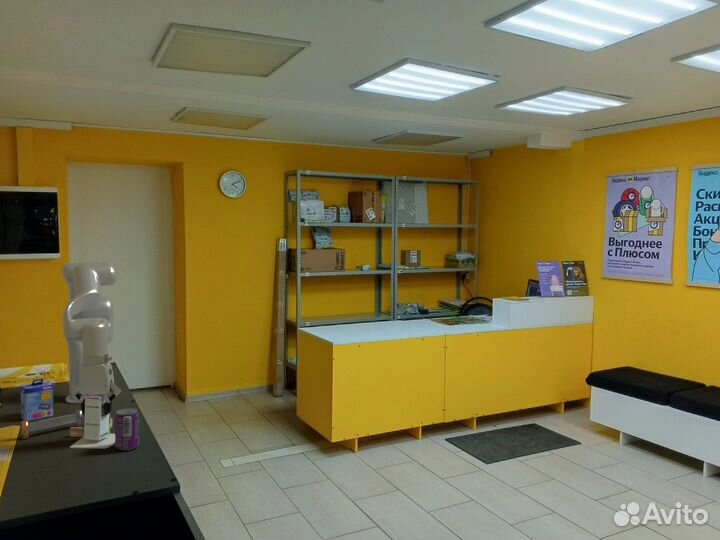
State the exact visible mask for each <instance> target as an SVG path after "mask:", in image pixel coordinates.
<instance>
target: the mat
mask: <svg viewBox="0 0 720 540" xmlns="http://www.w3.org/2000/svg"><path fill="white" fill-rule="evenodd" d="M113 444H115V433H110V436H107V437H105V438H103V439H101V440H89V439H84V437H80V439H79V440H77V441H76V442H74V443H72V445H70V446H69V448H70V449H104V450H105V449H106V448H108V449H109V448H110V447H111V446H112V445H113ZM106 450H107V449H106Z"/></svg>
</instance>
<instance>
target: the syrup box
mask: <svg viewBox="0 0 720 540" xmlns="http://www.w3.org/2000/svg"><path fill="white" fill-rule="evenodd" d="M105 403H106V401H105V399H104V397H103V395H86V396H85V414H84V425H83V427H84V439H89V440H101V439H103V438H105V437H107V436H110V434H111V428H110V418H111V415H112V414H111V412H112V411H111V412H110V413H109V414H108V415H105V409H104V404H105Z"/></svg>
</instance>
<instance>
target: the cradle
mask: <svg viewBox="0 0 720 540" xmlns="http://www.w3.org/2000/svg"><path fill="white" fill-rule="evenodd" d="M112 427H114V417H110V429H111V428H112ZM69 430H70V431H69V435H70V438H82V437H84V426H82V427H75V426H71V427H70V428H69Z"/></svg>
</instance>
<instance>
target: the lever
mask: <svg viewBox="0 0 720 540" xmlns="http://www.w3.org/2000/svg"><path fill="white" fill-rule="evenodd" d="M20 423H21V439H22V440H27V439H29V438H30V433H31V432H35V431H40V430H45V429H46V430H47V429H50V428H54V427H59V426H64V425H69V424H70V425H71V424H73V423H74V424H75V425H74V427H84V415H82V411H81V408H79V409H75V410H74V413H71V414H65V415H60V416H57V417H55V416H54V417H51V418H46V419H45V418H44V419H40V420H36V421H35V420H34V421H31V422H30V421H28V420H21V422H20Z"/></svg>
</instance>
